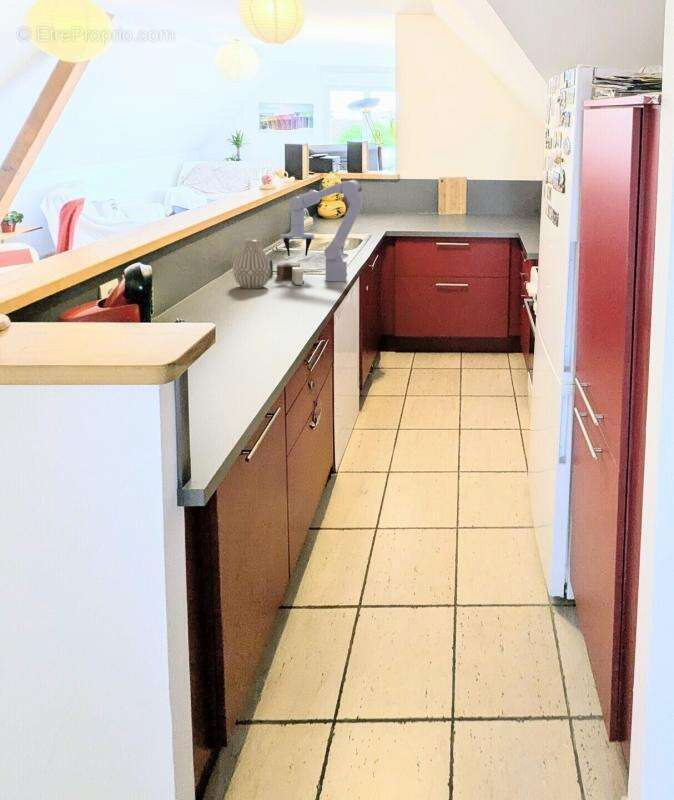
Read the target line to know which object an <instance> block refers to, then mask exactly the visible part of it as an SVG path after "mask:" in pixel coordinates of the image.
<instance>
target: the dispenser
mask: <svg viewBox="0 0 674 800" xmlns="http://www.w3.org/2000/svg"><path fill="white" fill-rule="evenodd" d="M300 264H301V262H297V261H295V262H294V261H293V262H291V261H289V262H287V261H282V262H281V261H280V262H279V261H278V262H276V280H277V281H284V278H292V267H299V268H300ZM300 269H301V268H300Z"/></svg>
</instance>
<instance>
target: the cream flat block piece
mask: <svg viewBox="0 0 674 800" xmlns="http://www.w3.org/2000/svg"><path fill="white" fill-rule="evenodd" d="M303 278H304V272H303V270H302V269H301V268H299V267H292V277H291V280H292V283H293V282H294V283H295V284H294V285H295V286H296V285H301V286H302V285H304V284H303V281H304V279H303Z"/></svg>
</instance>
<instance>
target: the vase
mask: <svg viewBox="0 0 674 800" xmlns="http://www.w3.org/2000/svg"><path fill="white" fill-rule="evenodd" d="M269 260H270V259H269V257H268V256H267V254H266V252H265V251H264V250H263V248H262V247H261V244H260V242H259V240H258V239H257V238H247V239H245V240H244V242H243V244H242V246H241V249H240V250H239V251H238V253H237V255H236V257H235V258H234V261H233V265H232V275H233V278H234V280H235V282H236V283H237V285H239V287H241V288H242V289H247V290H248V289H249V290H257V289H261V288H263V287H264V286H265V285H266V284H267V283H268V281H269V280H270V278H271V277H270V274H271V267H270V263H269Z"/></svg>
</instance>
